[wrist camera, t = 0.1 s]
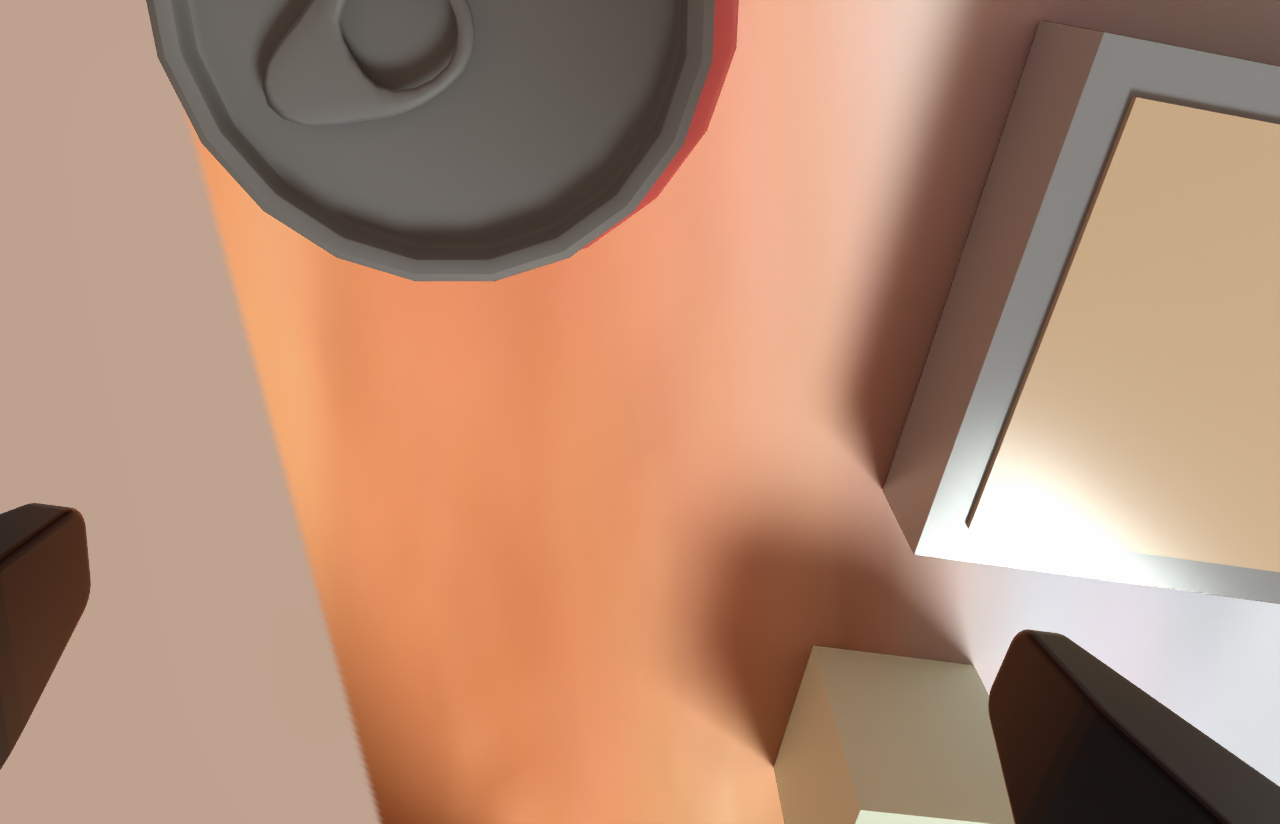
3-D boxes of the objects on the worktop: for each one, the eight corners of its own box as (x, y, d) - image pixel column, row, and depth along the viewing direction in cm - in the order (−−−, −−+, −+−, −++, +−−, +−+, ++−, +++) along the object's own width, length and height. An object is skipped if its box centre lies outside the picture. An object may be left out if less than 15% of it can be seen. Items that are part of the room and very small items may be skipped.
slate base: (1287, 548, 27) (1367, 618, 24) (882, 490, 26) (915, 558, 23) (1533, 117, 22) (1670, 143, 19) (1040, 19, 21) (1107, 32, 18)
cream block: (923, 782, 31) (988, 960, 26) (773, 766, 30) (808, 943, 25) (973, 663, 29) (1056, 830, 23) (813, 644, 28) (860, 809, 23)
